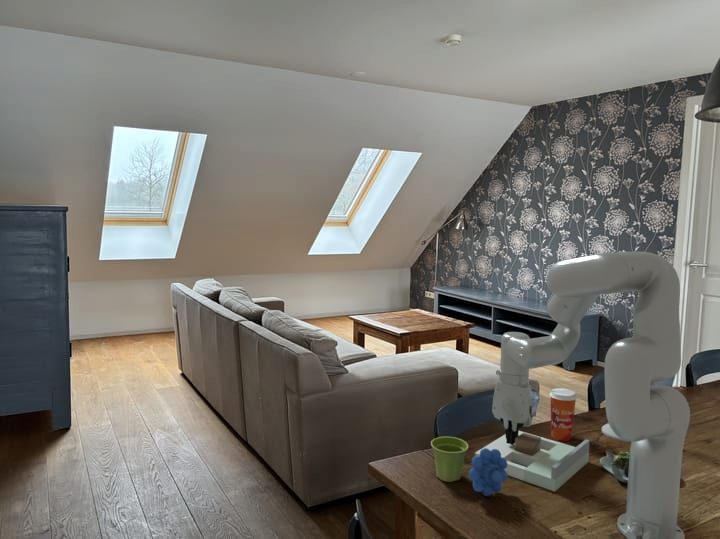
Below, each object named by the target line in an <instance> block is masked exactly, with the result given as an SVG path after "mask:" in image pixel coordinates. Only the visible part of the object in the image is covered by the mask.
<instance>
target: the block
mask: <svg viewBox="0 0 720 539" xmlns="http://www.w3.org/2000/svg"><path fill="white" fill-rule="evenodd" d="M527 433H528V432H525V433H522V434H521V435H519V436H518V437H516V438H515V451H518V452H521V453H524V454H527V455H530V456H533V455H534V454H536V453H537V452H539V451H540V448H541V438H540V437H541V436H539V437H537V436H538V435H536V436H533V435H534V434H532V435H530V434H531V433H529V434H527Z"/></svg>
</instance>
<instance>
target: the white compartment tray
mask: <svg viewBox="0 0 720 539" xmlns="http://www.w3.org/2000/svg"><path fill="white" fill-rule="evenodd" d="M522 433H527V434H530V435H533V436H537V437H540V438H541V448H540V451H539V452H537V453H536V454H534V455H533V456H530V455H527V454H524V453H521V452H518V451H515V443H514V444H513V445H511V444H510V443H509V444H508V443H506V440H507V439H506V433H505V434H503V435H502V436H500V437H498V438H497V439H495V440H493V441H491V442H490V443H488V444H487V445H485V446H484V447H482V448H481V449H479V450H476V452H474V457H475V456H480V451H481V450H482V449H484V448H487V449H489V450H490V451H491V450H492V449H497V450H499V451H500V453H501V457H503V458H505V459H506V461H507V467H506V469H504V470H505V471H506V472H507V475H508V476H509V477H512V478H515V479H518V480H521V481H523V482H526V483H529V484H532V485H535V486H537V487H540V488H543V489H546V490H549V491H551V492H554V493H555V492H556V491H557V490H558V489H560V487H562V486H563V485H564V484H565V483H566V482H567V481H568V480H570V479H571V478H572V477H573V476H574V475H575V474H576V473H577V472H579V471H580V470H581V469H582V468H583V467H584V466H585V465H587V464H588V462H589V459H590V458H589V457H590V456H589V454H590V439H584V440H583V441H582V442H581V443H579V444H578V445H577V446H573V445H570V444H566V443H562V442H559V441H557V440H556V441H555V440H552V439H548V438H545V437H542V436H539V435H535V434H532V433H528V432H525V431H521V430H519V432H518V436H519V435H521V434H522Z"/></svg>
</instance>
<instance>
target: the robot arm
mask: <svg viewBox="0 0 720 539" xmlns="http://www.w3.org/2000/svg"><path fill="white" fill-rule="evenodd" d="M546 285H547V289H548V290H549V292H551V294H552V297H551V298H550V299H549V300H548V302H547V305H546V310H547V313H548V315H549V317H551V318H552V320H554V322H556V323H557V325H556V327H555V328H554V329H553V331H552V332H551V333H550V335H548V336H540V337H534V338H531V337H530V336H529V334H526V333H524V332H521V331H520V332H519V331H507V332H504V333H503V334H502V335H501V341H500V364H499V366H500V369H499V370H498V369H497V370H496V371H495V374H496V375H497V376H498V377H499V378H498V379H497V380H496V383H495V387H494V393H493V399H492V407H491V409H492V411H491V412H492V414H493V417H494V418H496V419H497V420H499V421H500V422H501V423H502V424H503V427H504V429H505V434H506V439H507V440H506V443H508V444H509V443H510V444H511V445H513V444H514V443H515V438H516V437H518V432H519V431H520V429H521V428H530V427H531V426H532V425H533V423H532V422H533V421H532V419H533V416H534V413H533V412H534V403H533V400H534V399H533V391H532V386H531V384H530V383H529V381H530V380H529V379H530V376H529V375H530V369H538V368H543V367H547V366H554V365H559V364H561V363H562V362H564V361H565V360H566V359H567V358H568V357H569V356H570V355H571V353H572V352H573V350H574V349H575V348H576V347H577V345H578V343H579V340H580V338H581V324H580V323H581V321H582V320H583V318H584V316H585V315H586V314H587V312H588V311H589V309H590V308H591V307H592V305H593V304H594V302H596V300H597V299H598V297H599V296H600V295H611V294H619V293H628V292H629V293H630V292H637V294H638V297H637V300H636V302H635V304H634V308H633V310H632V312H633V313H632V325H633V327H632V330H633V331H632V336H631V338H630V337H625V338H622V339H619V340H617V341H615V342H614V343H613V344H611V346H610V347H609V348H608V351H607V352H606V354H605V358H604V396H605V397H604V398H605V412H606V414H605V415H606V420H607V424H608V423H609V425H610V427H611V429H612V430H613V432H614V433H615V434H616V435H617V436H618V437H620V438H621V439H623V440H626V441H631V442H630V447H629V448H630V449H629V452H630V457H629V473H628V485H627V494H626V508H625V509H626V510H625V512H624V513H622V514H621V515H619V516H618V518H617V524H616V525H617V528H618V530H619V532H620V533H621V534H622V535H623V536H625V537H626V539H685V533H684V531H683V530H682V529H681V527H680V526H678V512H679V500H680V486H681V485H680V484H681V473H682V472H681V471H682V470H681V469H682V464H683V463H682V461H683V452H684V451H683V450H684V444H685V439H686V435H687V433H688V429H689V424H690V420H691V417H690V416H691V411H690V406H689V403H688V401H687V399H686V397H685V396H684V395H683V394H682V393H681V392H680V391H679V390H677V389H675V388H674V387H672V386H667V385H659V384H657V385H651V384H654V383H658V382H662V381H666V380H669V379H671V378H673V377H675V376H676V375H677V374H678V373H679V372H680V369H681V365H682V351H681V350H682V347H681V346H682V344H681V343H682V342H681V325H680V324H681V321H680V305H681V303H680V302H681V283H680V279H679V275H678V272H677V271H676V269H675V267H674V266H673V264H671V263H670V262H669V261H668V260H667V259H666V258H664V257H663V256H661V255H660V254H657V253H656V254H655V253H653V252H648V251H639V250H638V251H636V250H634V251H621V252H617V251H615V252H604V253H596V254H590V255H586V256H585V255H584V256H580V257H574V258H568V259H563V260H562V259H561V260H559V261H557V262H555V263H554V264H553V265H552V266H551V267H550V269H549V270H548V272H547V276H546Z"/></svg>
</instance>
